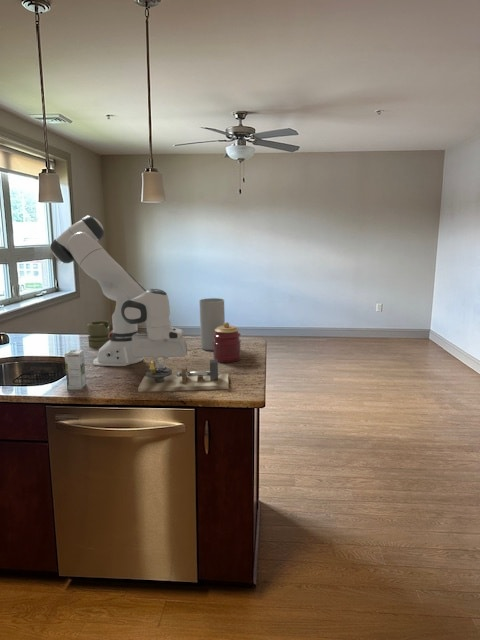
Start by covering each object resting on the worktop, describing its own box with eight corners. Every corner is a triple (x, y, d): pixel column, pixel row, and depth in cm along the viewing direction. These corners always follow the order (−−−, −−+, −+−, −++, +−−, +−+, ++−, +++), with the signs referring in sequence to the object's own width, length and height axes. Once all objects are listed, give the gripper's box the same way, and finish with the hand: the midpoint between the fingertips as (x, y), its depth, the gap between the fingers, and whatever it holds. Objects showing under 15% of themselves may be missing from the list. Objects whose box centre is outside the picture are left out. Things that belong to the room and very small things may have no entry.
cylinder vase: (216, 352, 214) (214, 302, 209) (196, 349, 220) (194, 301, 215) (229, 346, 224) (228, 299, 219) (210, 343, 231) (209, 297, 226)
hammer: (176, 381, 166) (175, 363, 165) (177, 378, 170) (176, 360, 169) (220, 380, 167) (219, 362, 166) (220, 376, 171) (219, 359, 170)
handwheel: (143, 378, 162) (142, 363, 161) (148, 370, 172) (147, 355, 171) (170, 377, 163) (169, 362, 162) (173, 369, 173) (172, 355, 171)
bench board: (138, 391, 161) (137, 381, 160) (144, 379, 175) (144, 369, 174) (228, 388, 163) (228, 378, 162) (228, 376, 176) (227, 367, 176)
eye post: (182, 383, 165) (181, 369, 164) (184, 377, 172) (183, 363, 171) (186, 383, 165) (185, 369, 164) (187, 377, 172) (186, 363, 171)
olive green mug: (112, 320, 236) (103, 325, 225) (114, 342, 238) (105, 347, 227) (93, 320, 237) (83, 324, 226) (94, 341, 240) (85, 346, 229)
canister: (219, 364, 193) (218, 326, 190) (209, 357, 205) (208, 321, 202) (245, 360, 198) (244, 323, 195) (234, 353, 210) (233, 318, 207)
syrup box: (71, 385, 170) (68, 349, 167) (86, 384, 170) (83, 349, 167) (67, 390, 164) (63, 353, 161) (82, 389, 165) (79, 353, 162)
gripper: (129, 335, 158) (131, 370, 160) (184, 334, 157) (186, 370, 160) (133, 331, 164) (136, 365, 167) (187, 330, 163) (188, 364, 166)
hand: (161, 367), depth 163 cm, fingers closed
